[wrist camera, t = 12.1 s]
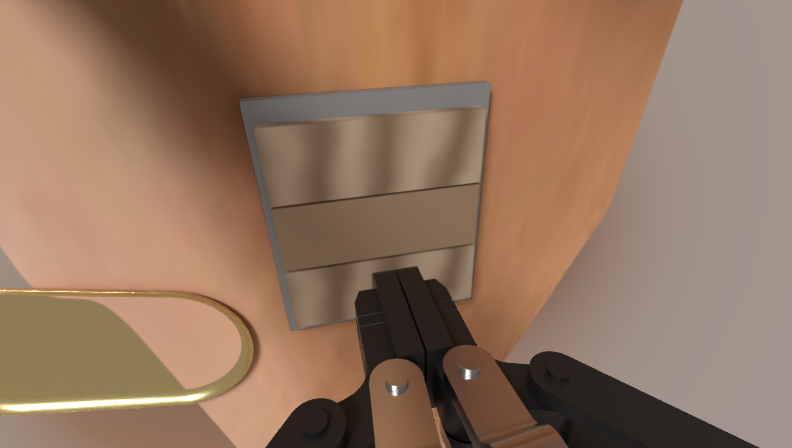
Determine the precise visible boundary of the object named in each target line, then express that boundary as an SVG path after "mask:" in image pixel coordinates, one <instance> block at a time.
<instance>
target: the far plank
mask: <svg viewBox="0 0 792 448" xmlns="http://www.w3.org/2000/svg"><path fill="white" fill-rule="evenodd" d="M473 259H474V244H473V243H472V244H465V245H459V246H452V247H445V248H439V249H432V250H426V251H419V252H412V253H406V254H399V255H392V256H386V257H379V258H372V259H366V260H359V261H352V262H346V263H339V264H332V265H326V266H319V267H312V268H306V269H299V270H292V271H286V272H285V277H286V282H287V287H288V292H289V296H290V301H291V306H292V311H293V316H294V321H295V326H296V328H301V327H306V326H312V325H318V324H323V323H329V322H335V321H340V320H346V319H352V318H356V313H355V300H356V298H357V295H358V292H359V291H362V290H368V289H373V287H372V273H375V272H382V271H388V270H394V271H395V269H400V268H406V267H413V266H417V267H418V268H419V271H420V273H421V275H422V277H423V279H424V280H429V279H436V280H437V281H439V282H440V283H441V284H442V285H444V286H445V287H446V288H447V290H448V292H449V294H450V296H451V298H452V301H454V300H459V299H465V298H471V288H472V273H473Z"/></svg>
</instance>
